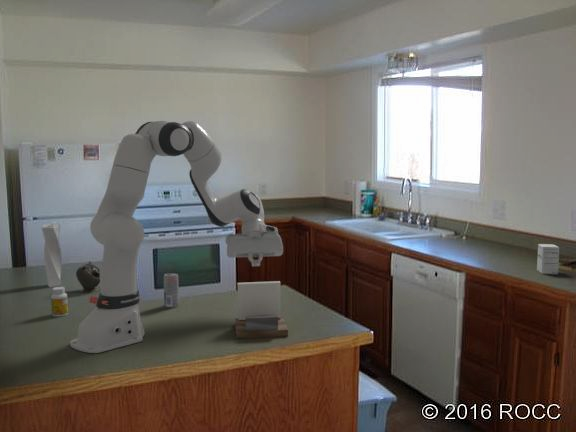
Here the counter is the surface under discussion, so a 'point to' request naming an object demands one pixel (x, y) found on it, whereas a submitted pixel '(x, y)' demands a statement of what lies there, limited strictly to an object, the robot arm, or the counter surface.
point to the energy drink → (171, 290)
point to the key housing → (261, 326)
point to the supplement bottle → (59, 302)
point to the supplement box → (548, 259)
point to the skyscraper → (52, 254)
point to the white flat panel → (259, 298)
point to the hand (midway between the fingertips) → (256, 265)
